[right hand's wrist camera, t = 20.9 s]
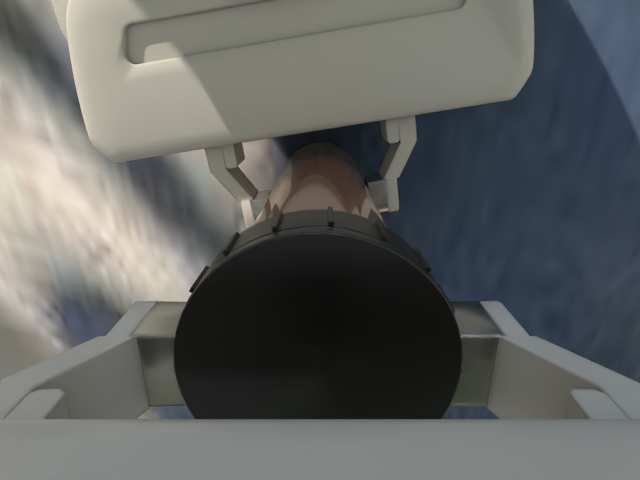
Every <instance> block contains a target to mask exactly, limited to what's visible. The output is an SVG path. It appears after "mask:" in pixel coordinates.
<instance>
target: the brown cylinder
mask: <svg viewBox="0 0 640 480" xmlns="http://www.w3.org/2000/svg"><path fill="white" fill-rule="evenodd" d="M328 206H330V207H333V210H335V211H343V212H347V213H351V214H356V215H360V216H362V217H365V218H367V219H370V220H372V221H375V222H376V220H377V219H378V220H381V222H382V224H383V226H384V227H386V228H387V226H386V224H385V222H384V220H383V218H382V216H381V214H380V212H379V210H378V208H377V206H376V204H375V202H374V200H373V198H372V196H371V194H370V192H369V190H368V188H367V186H366V184H365V182H364V180H363V178H362V176H361V174H360V172H359V170H358V168H357V166H356V164H355V162H354V160H353V159H352V157H351V156H350V155H349V154H348V153H347V152H346V151H345V150H343V149H342V148H340V147H339V146H337V145H334V144H331V143H326V142H316V143H311V144H307V145H305V146H303V147H301V148H300V149H298V150H297V151H296V152H294V154H293V155H292V156H291V157H290V158H289V160H288V161H287V163H286V165H285V167H284V169H283V171H282V172H281V174H280V176H279V178H278V180H277V182H276V184H275V185H274V187H273V189H272V191H271V193H270V195H269V197H268V198H267V200H266V202H265V204H264V206H263V208H262V210H261V211H260V213H259V215H258V217H257V219H256V221H255V223H254V224H253V226H254V225H255V224H257V223H259V222H262V221H264V220H266V219H269V218H271V217H274V216H276V214H277V212H279V211H282V213H283V214H284V213H288V212H294V211H301V210H311V209H328Z"/></svg>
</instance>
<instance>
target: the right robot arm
mask: <svg viewBox="0 0 640 480" xmlns="http://www.w3.org/2000/svg"><path fill="white" fill-rule="evenodd" d="M186 303H187V302H165V301H160V302H158V301H139V302H135V303H134V304H133V305H132V307H131V308H130V309H129V310H128V311H127V312H126V313H125V315H124V316H123V317H122V318H121V319H120V320H119V321H118V323H117V324H116V325H115V326H114V327H113V328H112V329H111V331H110V332H109V333H108V334H107V335H106V336H98V337H96V338H94V339H92V340H89V341H87V342H85V343H83V344H80V345H78V346H76V347H74V348H72V349H69V350H67V351H65V352H63V353H60V354H58V355H56V356H54V357H51V358H49V359H47V360H45V361H43V362H40V363H38V364H36V365H34V366H31V367H29V368H27V369H25V370H22V371H20V372H18V373H16V374H14V375H11V376H9V377H7V378H5V379H2V380H0V480H640V383H638V382H636V381H634V380H632V379H630V378H627V377H625V376H623V375H621V374H619V373H616V372H614V371H612V370H610V369H608V368H605V367H603V366H601V365H599V364H597V363H594V362H592V361H590V360H588V359H586V358H583V357H581V356H579V355H577V354H575V353H572V352H570V351H568V350H566V349H564V348H561V347H559V346H557V345H555V344H553V343H550V342H548V341H546V340H544V339H542V338H539V337H537V336H529V335H528V333H527V332H526V331H525V330H524V329H523V328H522V326H521V325H520V324H519V323H518V322H517V321H516V319H515V318H514V317H513V316H512V315H511V314H510V312H509V311H508V310H507V309H506V308H505V307H504V305H503V304H502V303H501V302H498V301H482V302H479V301H470V302H450V303H451V304H452V306H453V307H454V309H455V313H454V315H455V318H456V321H457V323H458V326H459V331H460V336H461V341H462V367H461V376H460V379H459V383H458V387H457V390H456V393H455V395H454V397H453V400H452V402H451V404H450V406H486V407H487V409H488V410H490V411H491V412H492V413H493V414H494V415H495V416H497V417H498V418H499V419H137V418H138V417H139V416H140V415H142V414H143V413H144V412H145V411H146V410H148V409H149V407H150V406H185V405H186V403H185V401H184V399H183V397H182V395H181V392H180V389H179V386H178V383H177V380H176V374H175V368H174V340H175V333H176V328H177V325H178V322H179V319H180V316H181V313H182V311H183V309H184V307H185V305H186Z"/></svg>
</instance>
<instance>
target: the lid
mask: <svg viewBox="0 0 640 480" xmlns="http://www.w3.org/2000/svg"><path fill="white" fill-rule="evenodd" d="M430 271H431V268H430V267H429V265H428V263H427V262H426V260H425V259H424V257H423V256H422V254H421V252H420V251H419V249H418V248H417V247H415V248H414V249H413V248H412V247H411V246H410V245H409V244H408V243H407V242H406V241H405V240H403V239H402V238H401V237H399V236H398V235H397V234H395V233H394V232H393V231H391V230H390V229H388V228H386V227H384V226H383V224H382V222H381V220H378V219H377V220H376V222H375V221H372V220H370V219H367V218H365V217H362V216H360V215H356V214H351V213H347V212H343V211H335V210H333V207H330V206H328V209H311V210H301V211H294V212H288V213H284V214H283V213H282V211H279V212H277V214H276V216H274V217H271V218H269V219H266V220H264V221H262V222H259V223H257V224H255V225H254V226H252V227H250V228H248V229H247V230H245V231H243V232H242V233H241V234H239V233H238V232H236V233H235V234H234V235H233V236H232V238H231V239H230V241H229V242H228V244H227V246H226V247H225V248H224V249H223V250H222V251H221V252H220V253H219V254H218V256H217V257H216V259H215V260H214V261H213V263H212V264H211V266H210V267H208V266H206V267H205V268H204V270H203V271H202V272H201V274H200V275H199V277H198V278H197V280H196V281H195V283H194V284H193V286H192V287H191V289H190V290H189V292H191V293H192V294H191V296H190V297H189V299H188V301H187V303H186V305H185V307H184V309H183V311H182V313H181V316H180V319H179V322H178V325H177V328H176V333H175V340H174V368H175V374H176V380H177V383H178V386H179V389H180V392H181V395H182V397H183V399H184V401H185V403H186V405H187V407H188V409H189V411H190V412H191V414H192V415H193V417H194V418H195V419H442V418H443V416H444V414H445V413H446V411H447V410H448V408H449V406H450V404H451V402H452V400H453V397H454V395H455V393H456V390H457V387H458V383H459V379H460V376H461V367H462V341H461V336H460V331H459V326H458V323H457V321H456V318H455V315H454V313H455V309H454V307H453V306H452V304H451V303H450V301H449V299H448V298H447V296H446V295H445V293H444V291H443V290H442V288H441V287H440V285H438V284H437V283H436V281H435V279H434V278H433V276H432V274H431V273H430Z"/></svg>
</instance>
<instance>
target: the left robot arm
mask: <svg viewBox="0 0 640 480" xmlns="http://www.w3.org/2000/svg"><path fill="white" fill-rule="evenodd" d="M51 1H52V4H53V7H54V10H55V13H56V16H57V19H58V22H59V25H60V28H61V30H62V33H63V34H64V36H65V38H66V39H67V41H68V46H69V52H70V58H71V64H72V69H73V75H74V80H75V85H76V89H77V94H78V98H79V102H80V106H81V111H82V114H83V118H84V122H85V125H86V129H87V132H88V135H89V138H90V140H91V142H92V143H93V145H94V146H95V147H96V148H98V149H99V150H100V151H101V152H102V153H104V154H105V155H106V156H107V157H108V158H110V159H111V160H113V161H115V162H123V161H129V160H135V159H142V158H148V157H154V156H161V155H167V154H173V153H179V152H186V151H192V150H198V149H205V152H206V156H207V160H208V164H209V168H210V172H211V173H212V174H213V175H214V176H215V177H216V179H217V180H218V181H219V182H220V183H221V184H222V185H223V186H224V187H225V188H226V189H227V190H228V191H229V192H230V194H231V195H232V196H233V197H234V198H235V199H236V200H237V201H238V202H241V205H242V209H243V214H244V218H245V222H246V227H247V229H248V228H250V227H252V226H253V224H254V223H255V221H256V219H257V217H258V215H259V213H260V211H261V210H262V208H263V206H264V204H265V202H266V200H267V198H268V197H269V195H270V193H271V191H272V190H266V191H259V192H258V190H257V189H256V188H255V187H254V185H253V184H252V183H251V182H250V181H249V179H248V178H247V177H246V176H245V175H244V173H243V172H242V171H241V170H240V169H239V167H238V165H239V164H240V163H241V162H242V161H243V160H244V159H245V156H244V151H243V146H242V142H249V141H255V140H261V139H268V138H274V137H280V136H286V135H293V134H299V133H305V132H312V131H318V130H324V129H331V128H337V127H343V126H349V125H356V124H362V123H368V122H375V121H380V127H381V135H382V137H383V138H384V139H385V140H386V141H387V142H389V143H390V147H389V149H388V151H387V154H386V156H385V158H384V161H383V163H382V166H381V168H380V170H379V173H377V174H372V175H366V176H364V181H365V184H366V186H367V188H368V190H369V192H370V194H371V196H372V198H373V200H374V202H375V204H376V206H377V208H378V210H379V212H380V213H386V212H393V211H398V210H399V200H398V188H397V178H399V177H400V175H401V172H402V170H403V168H404V166H405V164H406V162H407V160H408V158H409V156H410V154H411V152H412V149H413V147H414V145H415V143H416V141H417V134H416V119H415V115H419V114H425V113H431V112H438V111H444V110H450V109H456V108H463V107H469V106H475V105H482V104H488V103H494V102H500V101H506V100H511V99H513V98H514V97H516V95H517V94H518V93H519V91H520V90H521V89H522V87H523V86H524V84H525V82H526V81H527V79H528V78H529V76H530V75H531V72H532V69H533V62H534V6H533V0H51Z"/></svg>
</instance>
